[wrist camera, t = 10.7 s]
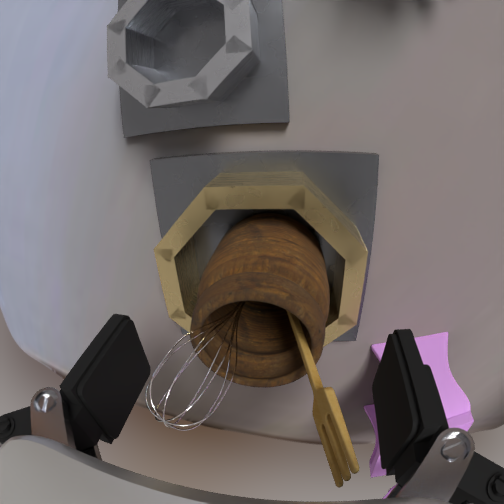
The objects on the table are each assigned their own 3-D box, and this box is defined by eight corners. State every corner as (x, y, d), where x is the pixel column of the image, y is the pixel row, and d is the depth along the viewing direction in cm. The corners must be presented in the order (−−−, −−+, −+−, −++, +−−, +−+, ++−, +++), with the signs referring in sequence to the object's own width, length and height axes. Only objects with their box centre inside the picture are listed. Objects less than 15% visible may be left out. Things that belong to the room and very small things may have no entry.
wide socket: (375, 153, 14) (397, 165, 11) (354, 334, 19) (361, 373, 16) (154, 158, 16) (122, 172, 13) (184, 328, 21) (168, 363, 18)
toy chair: (352, 411, 23) (357, 563, 10) (357, 346, 20) (378, 556, 7) (435, 397, 22) (465, 535, 8) (458, 328, 18) (526, 501, 5)
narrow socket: (278, -30, 10) (274, -61, 7) (289, 121, 14) (288, 124, 11) (123, 0, 11) (89, -15, 8) (129, 136, 15) (92, 145, 12)
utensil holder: (221, 201, 16) (94, 379, 5) (339, 219, 15) (400, 430, 5) (215, 293, 18) (142, 474, 8) (317, 309, 18) (319, 505, 7)
